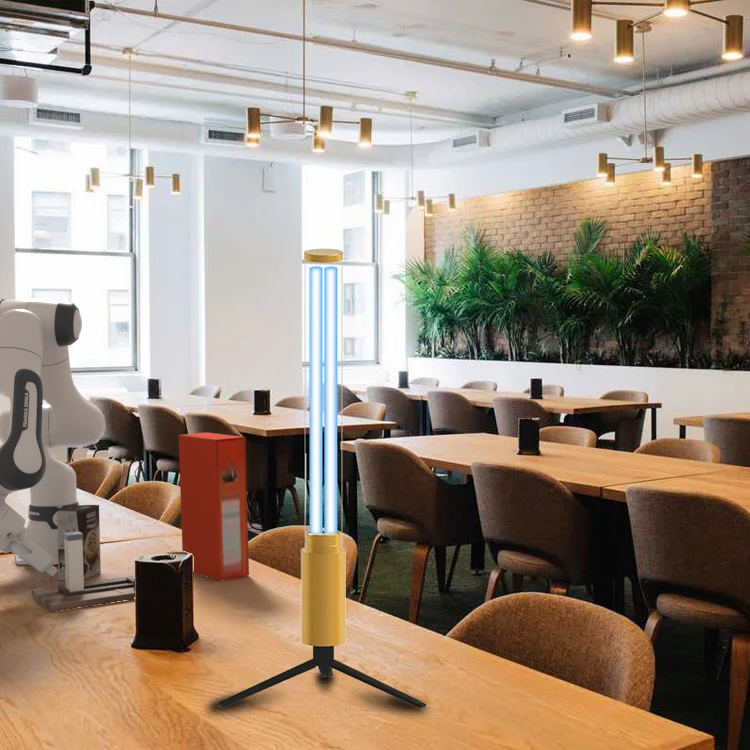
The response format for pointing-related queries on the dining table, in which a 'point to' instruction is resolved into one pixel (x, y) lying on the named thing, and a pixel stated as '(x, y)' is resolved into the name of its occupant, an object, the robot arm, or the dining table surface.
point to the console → (86, 594)
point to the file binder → (214, 504)
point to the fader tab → (74, 561)
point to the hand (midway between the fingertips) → (53, 572)
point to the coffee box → (88, 524)
